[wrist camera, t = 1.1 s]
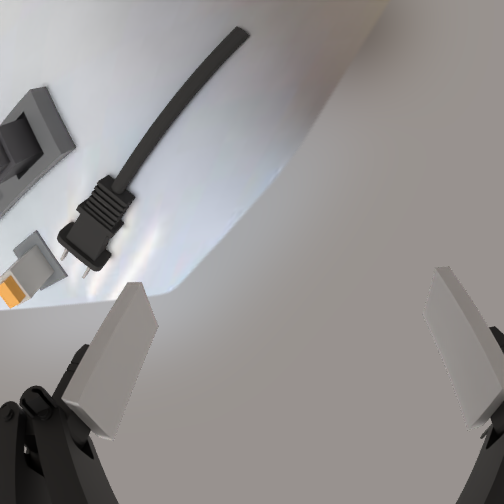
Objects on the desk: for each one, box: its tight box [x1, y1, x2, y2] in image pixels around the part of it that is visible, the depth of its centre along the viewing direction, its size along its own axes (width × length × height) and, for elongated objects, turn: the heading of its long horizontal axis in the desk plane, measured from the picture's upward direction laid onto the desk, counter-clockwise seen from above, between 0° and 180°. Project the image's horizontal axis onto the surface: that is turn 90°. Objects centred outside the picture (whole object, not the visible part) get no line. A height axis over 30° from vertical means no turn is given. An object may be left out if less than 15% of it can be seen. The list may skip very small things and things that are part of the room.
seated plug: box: [0, 118, 44, 184], centre depth 30 cm, size 6×6×10 cm
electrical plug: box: [57, 27, 249, 279], centre depth 35 cm, size 9×42×5 cm, turn 138°
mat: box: [13, 230, 68, 290], centre depth 46 cm, size 10×10×1 cm
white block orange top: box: [0, 245, 54, 308], centre depth 42 cm, size 6×6×10 cm
